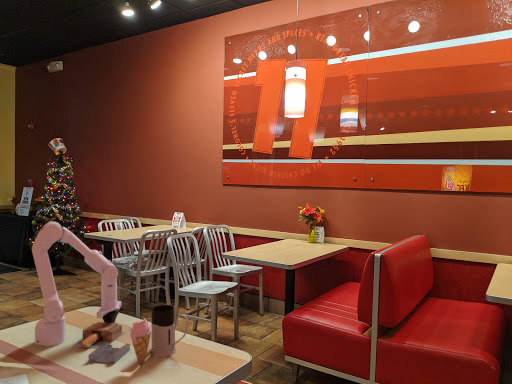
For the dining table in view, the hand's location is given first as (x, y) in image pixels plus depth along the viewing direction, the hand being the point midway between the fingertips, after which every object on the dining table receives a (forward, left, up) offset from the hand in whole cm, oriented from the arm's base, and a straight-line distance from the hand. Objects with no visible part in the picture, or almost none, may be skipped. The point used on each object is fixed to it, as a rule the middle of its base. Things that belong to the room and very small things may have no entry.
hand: (109, 330), depth 150 cm
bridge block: (0, -7, -2) cm, 7 cm away
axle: (0, -8, 0) cm, 8 cm away
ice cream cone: (+23, -22, -2) cm, 32 cm away
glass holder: (+29, -12, -2) cm, 31 cm away
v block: (+11, -19, -2) cm, 22 cm away
